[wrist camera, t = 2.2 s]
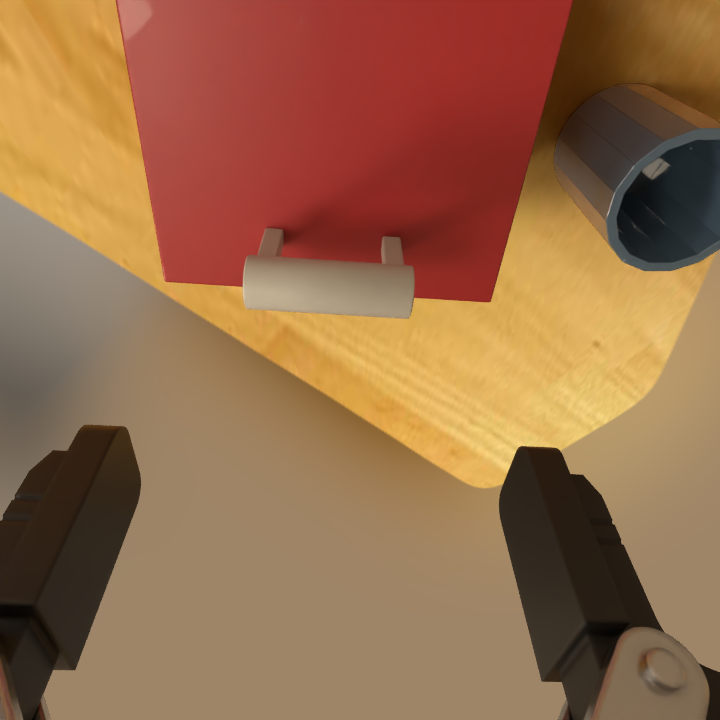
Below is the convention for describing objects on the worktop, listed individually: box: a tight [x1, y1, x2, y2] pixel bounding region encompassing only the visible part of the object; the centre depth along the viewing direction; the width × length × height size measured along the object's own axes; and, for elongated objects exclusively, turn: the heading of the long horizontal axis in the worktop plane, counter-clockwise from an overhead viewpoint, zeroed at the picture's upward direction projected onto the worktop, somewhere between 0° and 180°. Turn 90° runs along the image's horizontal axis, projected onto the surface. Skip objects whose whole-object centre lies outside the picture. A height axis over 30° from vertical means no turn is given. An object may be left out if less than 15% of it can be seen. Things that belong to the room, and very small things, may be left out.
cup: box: [554, 83, 720, 271], centre depth 26 cm, size 6×6×8 cm
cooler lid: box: [116, 0, 574, 319], centre depth 16 cm, size 16×14×5 cm
